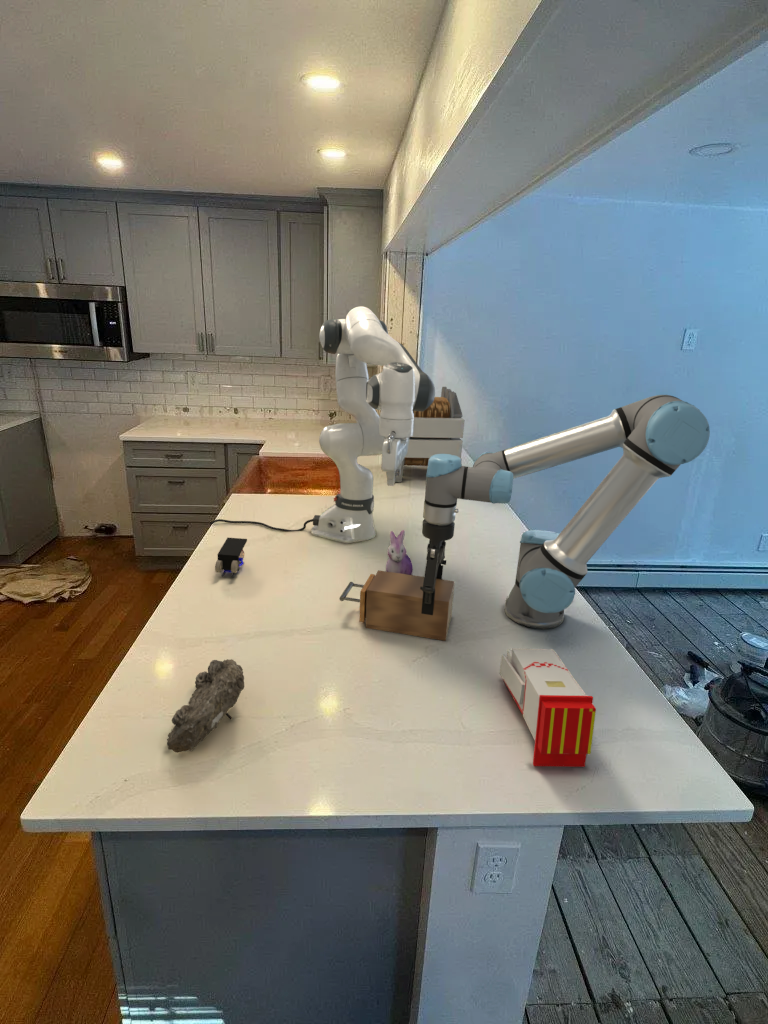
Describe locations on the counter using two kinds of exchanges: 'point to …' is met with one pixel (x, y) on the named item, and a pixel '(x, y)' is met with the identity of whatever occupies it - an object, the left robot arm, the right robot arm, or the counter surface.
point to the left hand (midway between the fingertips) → (393, 480)
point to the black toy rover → (230, 556)
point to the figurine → (398, 555)
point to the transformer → (435, 431)
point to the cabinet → (408, 605)
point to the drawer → (362, 596)
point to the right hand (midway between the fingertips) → (431, 600)
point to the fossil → (206, 705)
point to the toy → (550, 706)
